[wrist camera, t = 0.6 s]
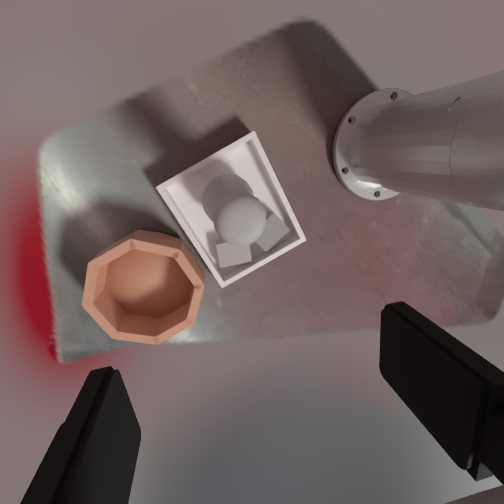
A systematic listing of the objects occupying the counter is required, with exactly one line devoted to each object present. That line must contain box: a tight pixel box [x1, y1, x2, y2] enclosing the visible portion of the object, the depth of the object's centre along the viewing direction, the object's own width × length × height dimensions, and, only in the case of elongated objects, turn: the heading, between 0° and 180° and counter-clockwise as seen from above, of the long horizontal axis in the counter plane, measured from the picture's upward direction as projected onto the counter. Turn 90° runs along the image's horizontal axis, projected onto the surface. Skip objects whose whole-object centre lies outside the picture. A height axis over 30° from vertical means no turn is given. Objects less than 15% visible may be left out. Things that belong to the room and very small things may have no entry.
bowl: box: [82, 229, 205, 345], centre depth 33 cm, size 12×12×5 cm
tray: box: [156, 131, 306, 288], centre depth 33 cm, size 12×14×2 cm
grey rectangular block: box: [255, 211, 290, 252], centre depth 35 cm, size 4×3×2 cm
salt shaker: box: [202, 174, 267, 246], centre depth 27 cm, size 6×6×13 cm
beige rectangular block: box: [215, 240, 252, 268], centre depth 35 cm, size 4×3×2 cm
